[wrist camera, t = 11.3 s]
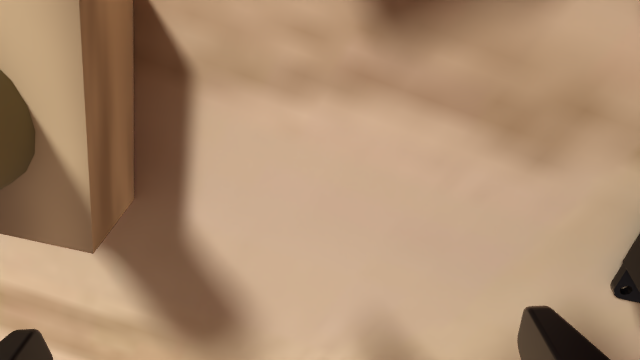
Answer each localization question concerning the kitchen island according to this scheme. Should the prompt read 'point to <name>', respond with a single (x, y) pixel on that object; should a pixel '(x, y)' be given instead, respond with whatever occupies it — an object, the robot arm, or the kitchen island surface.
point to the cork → (14, 133)
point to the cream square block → (71, 118)
